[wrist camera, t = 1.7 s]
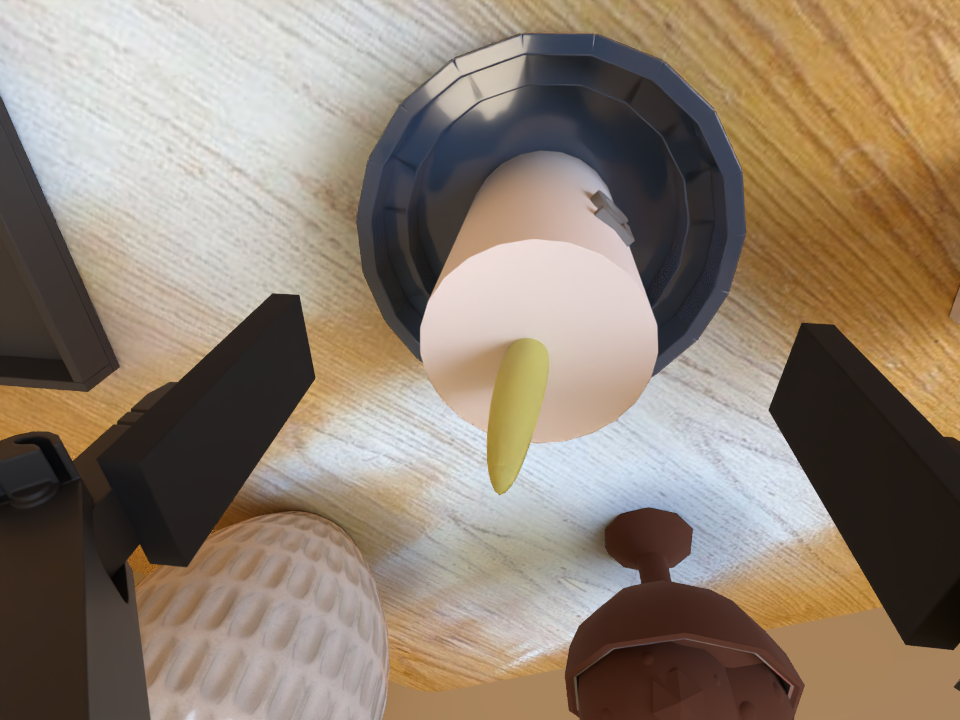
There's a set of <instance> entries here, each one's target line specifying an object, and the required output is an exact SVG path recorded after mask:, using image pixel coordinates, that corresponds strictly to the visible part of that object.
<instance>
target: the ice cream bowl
mask: <svg viewBox="0 0 960 720" xmlns="http://www.w3.org/2000/svg"><path fill="white" fill-rule="evenodd" d="M692 532H693V529H692V528H691V527H690V526H689V525H688V524H687V523H686V522H685V521H684V520H683V519H682V518H681V517H680V516H679V515H678V514H677V513H672V512H667V511H662V510H658V509H653V508H645V509H641V510H637V511H632V512H628V513H624V514H621V515H620V516H618V517H617V518H616V519H615V520H614V521H613V522H612V523H611V524H610V525H609V526H608V527H607V528H606V529H605V548H606V550H607V552H608V554H609V555H610V556H612V557H613V558H614V559H615V560H616V561H617V562H619V563H620V564H621V565H622V566H623V567H626V568H631V569H636V570H639V573H640V578H641V583H642V584H639V585H634V586H630V587H627V588H623V589H622V590H621V591H619V592H618V593H617V594H616V595H615V596H613V597H612V598H611V599H610V600H608V601H607V602H606V603H605V604H603V605H602V606H601V607H600V608H599V609H597V610H596V611H595V612H594V613H593V614H592V615H591V616H590V617H588V618H587V619H586V620H585V621H584V622H583V623H582V624H581V625H579V627H578V629H577V632H576V634H575V636H574V638H573V640H572V643H571V645H570V648H569V654H568V660H567V665H566V671H565V680H566V689H567V697H568V707H569V711H570V712H572V713H574V714H575V715H577V716H578V717H579V718H580V720H794V715H795V713H796V709H797V707H798V704H799V701H800V698H801V695H802V692H803V689H804V686H805V685H804V683H803V682H802V680H801V678H800V677H799V675H798V673H797V672H796V670H795V669H794V667H793V665H792V663H791V662H790V660H789V658H788V657H787V655H786V653H785V652H784V651H783V650H782V649H781V648H780V647H779V646H778V645H777V644H776V642H775V641H774V640H773V639H772V638H771V637H770V636H769V635H768V634H767V633H766V632H765V630H763V629H762V628H761V627H760V626H759V625H758V624H757V623H756V622H755V621H754V620H753V619H752V618H750V617H749V616H748V615H747V614H746V613H745V612H744V611H743V610H742V609H741V608H740V607H738V606H737V605H736V604H735V603H734V602H733V601H732V600H730V599H728V598H726V597H724V596H722V595H720V594H718V593H716V592H714V591H712V590H709V589H704V588H699V587H695V586H690V585H685V584H680V583H675V582H671V578H670V572H669V568H673V567H675V566H676V565H677V564H678V563H680V562H681V561H682V560H683V559H685V558H686V557H687V556H689V555H690V553H691V543H692Z"/></svg>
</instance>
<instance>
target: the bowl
mask: <svg viewBox="0 0 960 720" xmlns="http://www.w3.org/2000/svg"><path fill="white" fill-rule="evenodd" d="M540 150H541V151H554V152H562V153H565V154H567V155H570V156H573V157H575V158H578V159H580V160H582V161H583V162H584V163H586V164H587V165H588V166H590V167H591V168H592V169H594V170H595V171H596V172H597V173H598V175H599V176H600V177H601V179H602V180H603V181H604V183H605V184H606V185H607V187H608V189H609V192H610V194H611V197H612V200H613V203H614V204H615V205H616V206H617V207H618V208H619V209H620V210H621V211H622V213H623V214H624V215H625V216H626V217H627V219H628V222H627V223H626V224H627V225H628V226H629V227H630V230H631V232H632V235H633V237H634V240H635V241H634V242H633V243H631V244H630V245H629V247H630V250H631V253H632V256H633V259H634V261H635V264H636V267H637V270H638V273H639V275H640V278H641V281H642V284H643V287H644V289H645V292H646V295H647V298H648V301H649V304H650V306H651V309H652V312H653V315H654V318H655V320H656V323H657V333H658V355H657V359H656V362H655V366H654V369H653V373H652V376H651V377H653V376H654V375H656V374H657V373H659V372H660V371H661V370H662V369H663V368H665V367H666V366H667V365H668V364H669V363H671V362H672V361H673V360H674V359H675V358H677V357H678V356H679V355H680V354H681V353H683V352H684V351H685V350H686V349H687V348H689V347H690V346H691V345H692V344H693V343H695V342H696V340H698V339H699V337H700V336H701V334H702V333H703V331H704V330H705V328H706V327H707V325H708V324H709V322H710V321H711V319H712V318H713V316H714V315H715V313H716V312H717V310H718V309H719V307H720V306H721V305H722V303H723V302H724V300H725V299H726V297H727V296H728V294H729V291H730V288H731V285H732V281H733V278H734V274H735V271H736V268H737V264H738V261H739V257H740V254H741V250H742V247H743V243H744V240H745V236H746V235H745V234H746V222H745V204H744V187H743V172H742V168H741V166H740V164H739V161H738V159H737V157H736V155H735V153H734V150H733V148H732V146H731V144H730V141H729V139H728V137H727V135H726V133H725V130H724V128H723V126H722V124H721V122H720V119H719V117H718V115H717V113H716V111H715V110H714V108H713V107H712V106H711V105H710V104H709V103H708V102H707V101H706V100H705V99H704V98H703V97H702V96H700V95H699V94H698V93H697V92H696V91H695V90H694V89H693V88H692V87H691V86H690V85H689V84H688V83H687V82H686V81H685V80H684V79H683V78H682V77H681V76H680V75H679V74H678V73H677V72H676V71H674V70H673V69H672V68H671V67H670V66H669V65H668V64H667V63H666V62H664V61H663V60H661V59H659V58H657V57H654V56H652V55H649V54H647V53H644V52H642V51H639V50H637V49H634V48H632V47H629V46H627V45H624V44H622V43H619V42H617V41H614V40H612V39H609V38H607V37H604V36H602V35H599V34H594V33H588V32H524V33H519V34H517V35H514V36H511V37H508V38H506V39H503V40H500V41H498V42H495V43H492V44H490V45H487V46H484V47H481V48H479V49H476V50H473V51H471V52H468V53H465V54H463V55H460V56H457V57H455V58H454V59H451V60H450V61H449V62H448V63H447V64H445V65H444V66H443V67H442V68H441V69H440V70H438V71H437V72H436V73H435V74H434V75H433V76H431V77H430V78H429V79H428V80H427V81H425V82H424V83H423V84H422V85H421V86H420V87H418V88H417V89H416V90H415V91H414V92H413V93H411V94H410V95H409V96H408V97H407V98H405V99H404V100H403V101H402V102H401V104H400V105H399V106H398V108H397V109H396V111H395V113H394V115H393V116H392V118H391V120H390V121H389V123H388V125H387V127H386V128H385V130H384V132H383V134H382V135H381V137H380V139H379V140H378V142H377V144H376V146H375V147H374V149H373V151H372V153H371V154H370V156H369V160H368V161H367V165H366V170H365V176H364V181H363V186H362V191H361V196H360V201H359V206H358V211H357V218H356V222H357V230H358V238H359V246H360V254H361V262H362V270H363V273H364V276H365V279H366V281H367V283H368V285H369V287H370V290H371V292H372V294H373V296H374V298H375V301H376V303H377V305H378V307H379V309H380V312H381V314H382V316H383V318H384V320H385V322H386V323H387V324H388V326H389V327H390V328H391V329H392V330H393V331H394V333H395V334H396V335H397V336H398V337H399V338H400V339H401V341H402V342H403V343H404V344H405V345H406V346H407V348H408V349H409V350H410V351H411V352H412V353H413V354H414V356H415V357H416V358H417V359H419V361H421V362H422V363H423V361H422V357H421V354H420V327H421V323H422V320H423V317H424V313H425V310H426V307H427V304H428V301H429V299H430V296H431V294H432V292H433V290H434V287H435V285H436V283H437V281H438V278H439V276H440V274H441V272H442V270H443V267H444V265H445V263H446V261H447V258H448V256H449V254H450V252H451V250H452V247H453V245H454V243H455V241H456V238H457V236H458V234H459V232H460V229H461V227H462V225H463V223H464V221H465V218H466V216H467V214H468V212H469V209H470V207H471V205H472V203H473V201H474V198H475V196H476V194H477V192H478V191H479V189H480V187H481V186H482V184H483V183H484V181H485V180H486V178H487V177H488V176H489V175H490V174H491V173H492V172H493V171H494V170H496V169H497V168H498V167H499V166H500V165H501V164H502V163H504V162H506V161H508V160H510V159H512V158H514V157H516V156H518V155H520V154H525V153H530V152H535V151H540Z"/></svg>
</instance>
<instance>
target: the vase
mask: <svg viewBox="0 0 960 720" xmlns="http://www.w3.org/2000/svg"><path fill="white" fill-rule="evenodd" d="M135 594H136V603H137V611H138V619H139V627H140V636H141V644H142V652H143V660H144V669H145V677H146V685H147V693H148V701H149V710H150V718H151V720H382V719H383V715H384V710H385V706H386V699H387V689H388V679H389V669H390V664H389V645H388V627H387V621H386V617H385V613H384V609H383V605H382V601H381V598H380V594H379V591H378V587H377V585H376V582H375V580H374V577H373V575H372V572H371V570H370V567H369V565H368V564H367V562H366V560H365V558H364V557H363V555H362V554H361V552H360V551H359V549H358V548H357V546H356V545H355V543H354V542H353V541H352V539H351V538H350V537H349V535H348V534H347V533H346V532H345V531H344V530H343V529H342V528H341V527H339V526H338V525H337V524H335V523H333V522H332V521H330V520H328V519H326V518H324V517H321V516H318V515H316V514H312V513H308V512H301V511H286V512H279V513H273V514H268V515H262V516H258V517H253V518H249V519H246V520H243V521H241V522H238V523H235V524H233V525H230V526H228V527H225V528H223V529H220V530H218V531H216V532H214V533H212V534H210V535H209V536H208V537H207V539H206V540H205V542H204V543H203V545H202V546H201V548H200V549H199V550H198V552H197V553H196V555H195V556H194V558H193V559H192V561H191V562H190V564H189V565H188V567H187V568H186V567H177V566H167V565H160V566H159V567H158V568H156V569H155V570H154V571H152V572H151V573H150V574H148V575H147V576H146V577H145V578H144V579H143V580H142V581H141V582H140V583H139V584H138V585H137V586H136V587H135Z"/></svg>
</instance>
